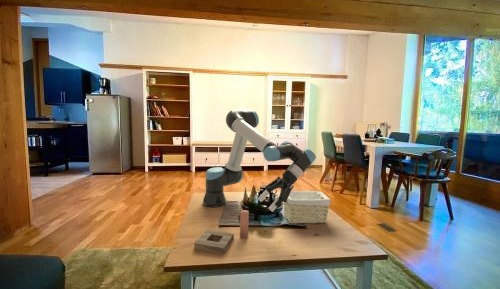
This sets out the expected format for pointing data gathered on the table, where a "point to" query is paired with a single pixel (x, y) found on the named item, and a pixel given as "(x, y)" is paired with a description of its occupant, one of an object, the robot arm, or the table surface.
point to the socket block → (212, 246)
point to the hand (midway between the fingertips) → (264, 205)
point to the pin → (244, 224)
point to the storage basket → (306, 207)
